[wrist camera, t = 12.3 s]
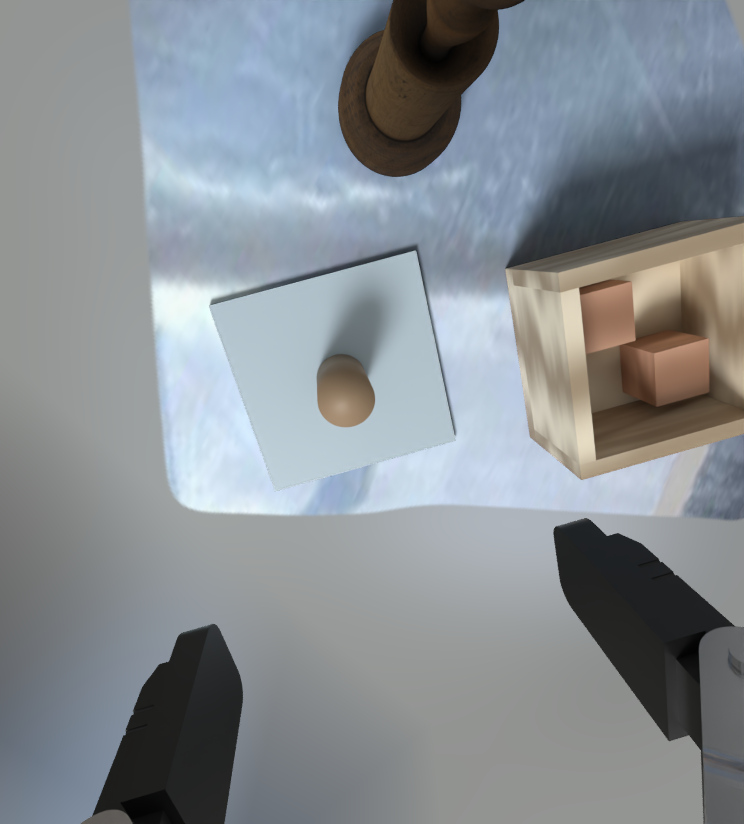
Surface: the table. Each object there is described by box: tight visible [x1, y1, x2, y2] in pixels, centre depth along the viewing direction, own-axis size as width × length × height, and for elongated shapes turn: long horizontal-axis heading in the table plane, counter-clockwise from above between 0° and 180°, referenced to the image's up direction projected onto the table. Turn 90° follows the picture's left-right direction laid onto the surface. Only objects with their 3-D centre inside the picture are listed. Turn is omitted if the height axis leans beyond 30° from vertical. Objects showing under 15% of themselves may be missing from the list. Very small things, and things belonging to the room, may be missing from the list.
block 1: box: [579, 279, 636, 354], centre depth 30 cm, size 4×4×4 cm
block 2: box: [619, 330, 709, 407], centre depth 31 cm, size 4×4×4 cm
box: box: [505, 216, 744, 480], centre depth 30 cm, size 12×12×7 cm
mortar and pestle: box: [338, 0, 524, 177], centre depth 19 cm, size 7×6×18 cm
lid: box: [209, 250, 456, 491], centre depth 30 cm, size 13×13×6 cm
